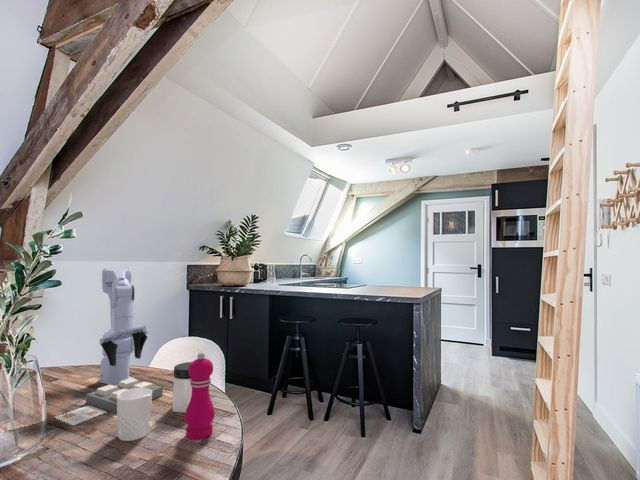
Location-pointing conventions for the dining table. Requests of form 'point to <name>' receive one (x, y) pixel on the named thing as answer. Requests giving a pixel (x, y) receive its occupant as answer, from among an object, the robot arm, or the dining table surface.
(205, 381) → the pepper mill
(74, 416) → the card
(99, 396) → the button board
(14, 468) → the dining table surface
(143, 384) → the button
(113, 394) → the button
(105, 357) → the robot arm
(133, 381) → the button
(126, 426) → the white cup
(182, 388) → the jar
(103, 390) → the button
